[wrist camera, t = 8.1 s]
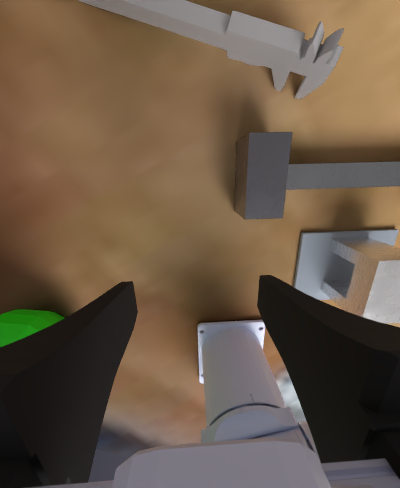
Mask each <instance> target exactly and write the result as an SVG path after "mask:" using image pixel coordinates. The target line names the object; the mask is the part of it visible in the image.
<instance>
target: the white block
mask: <svg viewBox="0 0 400 488" xmlns="http://www.w3.org/2000/svg"><path fill="white" fill-rule="evenodd" d="M329 250H330V251H332V252H333V253H335V254H337V255H339V256H341V257H343V258H344V259H346V260H348V261H350V262H352V263H354V264H355V267H354V271H353V275H352V278H351V279H343V280H323V282H322V287H321V290H322V291H323V292H324V293H325V294H326V295H327V296H328V297H329V298H331V299H332V300H333V301H334V302H335V303H336V304H337V305H339V306H340V307H341V308H342V309H343V310H344V311H347V312H349V313H352V314H355V315H358V316H361V317H364V318H367V319H371V320H374V321H377V322H381V323H400V248H397V247H394V246H391V245H389V244H386V243H383V242H380V241H377V240H374V239H371V238H346V239H331V242H330V247H329Z"/></svg>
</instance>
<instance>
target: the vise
mask: <svg viewBox="0 0 400 488" xmlns="http://www.w3.org/2000/svg"><path fill="white" fill-rule="evenodd" d="M291 140H292V132H266V133H248V134H247V135H246V136H244V137H243V138H241V139H240V140H238V141H237V142H236V171H235V203H234V211H235V212H237V213H238V214H239V215H240V216H241V217H243V218H244V219H269V218H283V211H284V202H285V193H286V190H290V189H322V188H355V187H388V186H400V161H398V162H360V163H321V164H289V158H290V149H291Z"/></svg>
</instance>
